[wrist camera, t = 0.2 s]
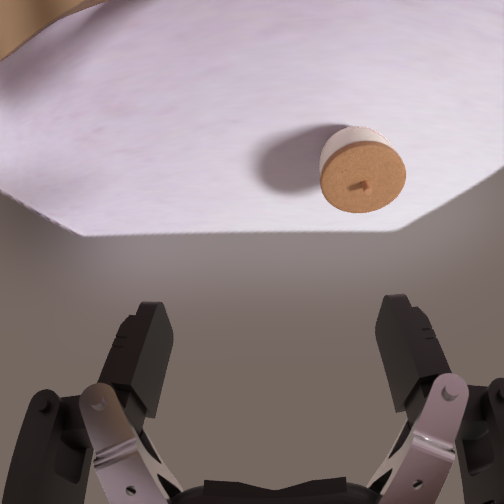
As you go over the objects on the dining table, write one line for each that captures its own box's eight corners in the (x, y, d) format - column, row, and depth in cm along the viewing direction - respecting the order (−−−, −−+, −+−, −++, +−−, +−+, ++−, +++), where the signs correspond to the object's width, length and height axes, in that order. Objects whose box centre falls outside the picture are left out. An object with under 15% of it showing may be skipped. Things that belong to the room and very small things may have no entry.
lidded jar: (307, 119, 36) (316, 161, 30) (387, 108, 33) (413, 149, 27) (319, 180, 44) (327, 228, 38) (388, 171, 41) (407, 217, 36)
